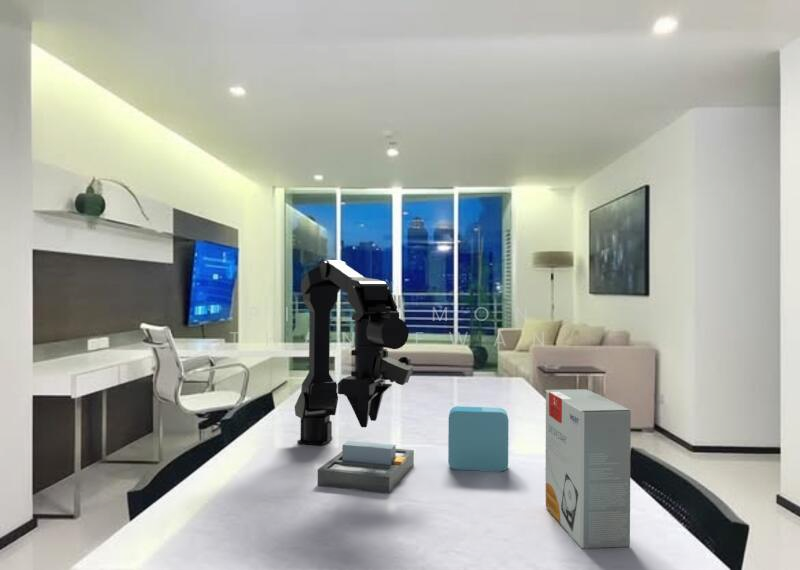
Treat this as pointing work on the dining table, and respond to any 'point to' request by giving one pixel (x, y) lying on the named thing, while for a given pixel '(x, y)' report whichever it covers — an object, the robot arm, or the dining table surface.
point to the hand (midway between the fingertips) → (368, 423)
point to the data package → (478, 439)
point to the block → (368, 452)
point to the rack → (365, 473)
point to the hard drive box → (588, 467)
